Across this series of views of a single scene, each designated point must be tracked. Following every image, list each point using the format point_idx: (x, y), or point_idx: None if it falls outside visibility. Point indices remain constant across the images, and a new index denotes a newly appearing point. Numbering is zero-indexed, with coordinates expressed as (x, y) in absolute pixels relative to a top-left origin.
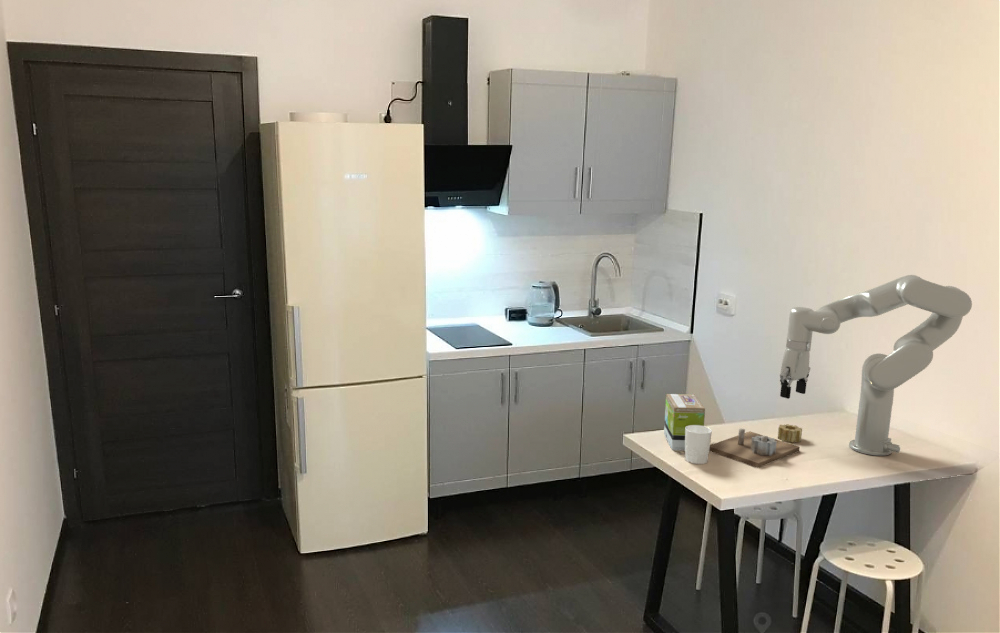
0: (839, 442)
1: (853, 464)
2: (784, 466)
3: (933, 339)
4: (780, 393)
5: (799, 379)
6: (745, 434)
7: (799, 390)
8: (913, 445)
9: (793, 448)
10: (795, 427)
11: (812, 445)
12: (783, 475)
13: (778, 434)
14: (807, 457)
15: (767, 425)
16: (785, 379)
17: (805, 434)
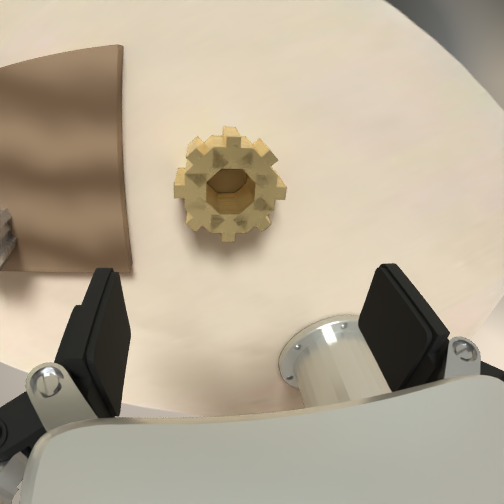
0: (332, 292)
1: (179, 376)
2: (3, 294)
3: None
4: (90, 283)
5: (434, 369)
6: (62, 65)
7: (377, 305)
8: None
9: (93, 269)
10: (255, 204)
11: (231, 260)
12: None
13: (190, 146)
14: None
15: (331, 28)
16: (14, 477)
17: (337, 187)
